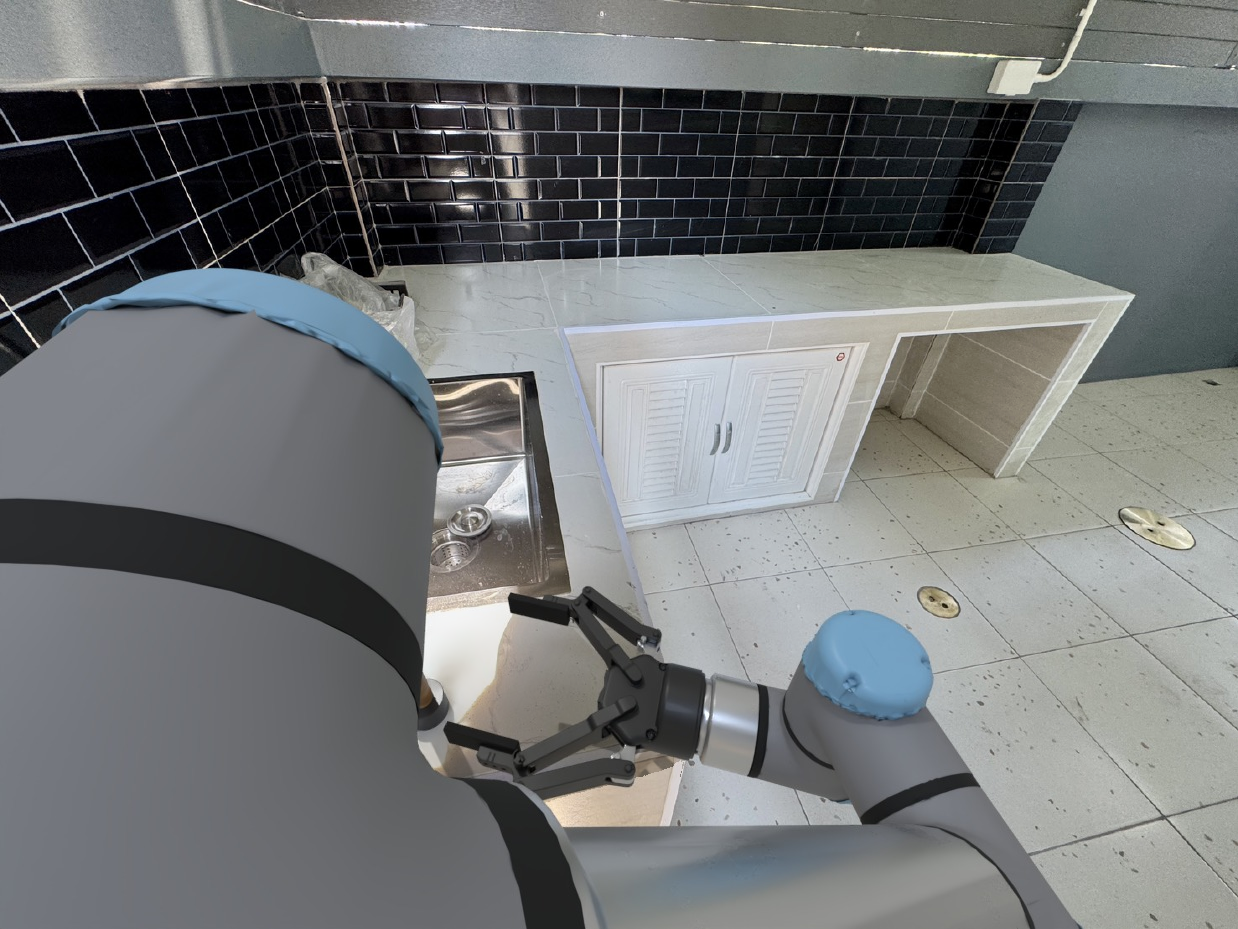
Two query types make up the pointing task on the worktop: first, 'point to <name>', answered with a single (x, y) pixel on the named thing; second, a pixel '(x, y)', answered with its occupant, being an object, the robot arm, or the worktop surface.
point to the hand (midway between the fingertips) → (481, 660)
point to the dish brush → (431, 704)
